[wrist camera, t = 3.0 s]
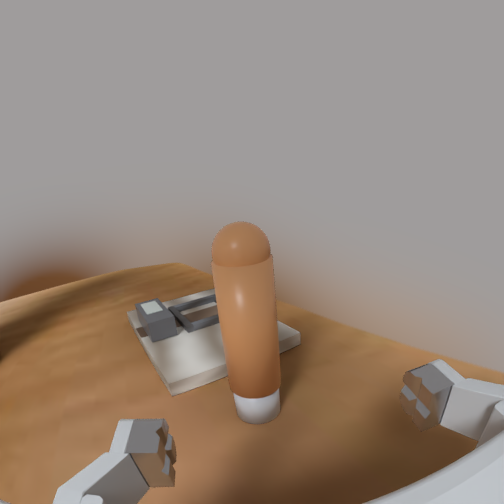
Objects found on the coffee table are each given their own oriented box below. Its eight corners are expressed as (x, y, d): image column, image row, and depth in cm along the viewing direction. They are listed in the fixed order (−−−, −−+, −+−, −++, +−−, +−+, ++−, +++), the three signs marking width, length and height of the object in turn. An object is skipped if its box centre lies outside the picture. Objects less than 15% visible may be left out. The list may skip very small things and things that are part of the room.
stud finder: (152, 342, 33) (147, 322, 32) (138, 320, 39) (134, 303, 38) (178, 334, 34) (173, 315, 34) (161, 314, 40) (157, 297, 40)
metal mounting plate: (172, 396, 26) (166, 376, 25) (129, 321, 42) (125, 307, 42) (300, 343, 33) (299, 325, 33) (219, 296, 50) (217, 282, 49)
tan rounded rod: (250, 432, 21) (224, 230, 17) (225, 406, 24) (196, 224, 20) (292, 411, 23) (282, 219, 19) (264, 389, 26) (248, 215, 22)
